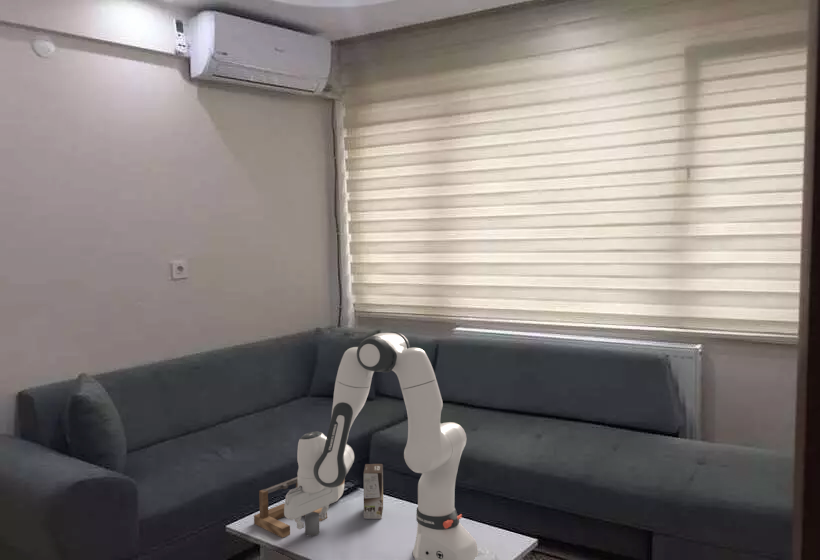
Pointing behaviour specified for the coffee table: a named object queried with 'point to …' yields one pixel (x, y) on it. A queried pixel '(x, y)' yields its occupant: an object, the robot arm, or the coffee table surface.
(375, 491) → the coffee box
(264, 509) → the wooden crossbar stand
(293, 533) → the coffee table surface
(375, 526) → the coffee table surface
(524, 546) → the coffee table surface
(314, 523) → the grey cylinder
